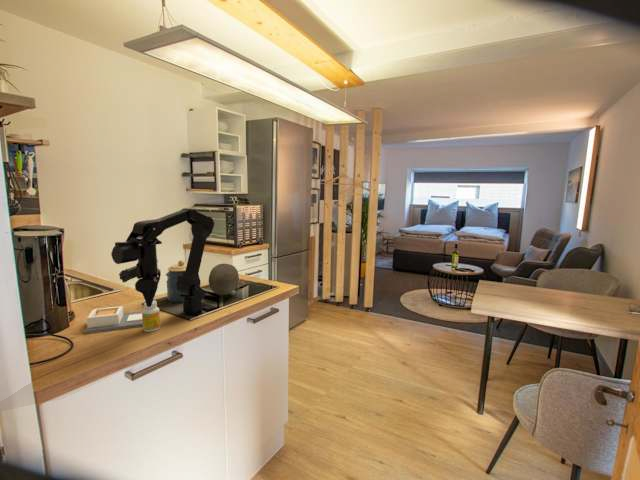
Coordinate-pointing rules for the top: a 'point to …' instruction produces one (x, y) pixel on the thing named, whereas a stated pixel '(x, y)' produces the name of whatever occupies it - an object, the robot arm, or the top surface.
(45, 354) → the top surface
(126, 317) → the breaker panel
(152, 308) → the supplement bottle
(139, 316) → the rest pad
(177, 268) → the canister
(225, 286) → the cantaloupe
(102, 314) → the button
